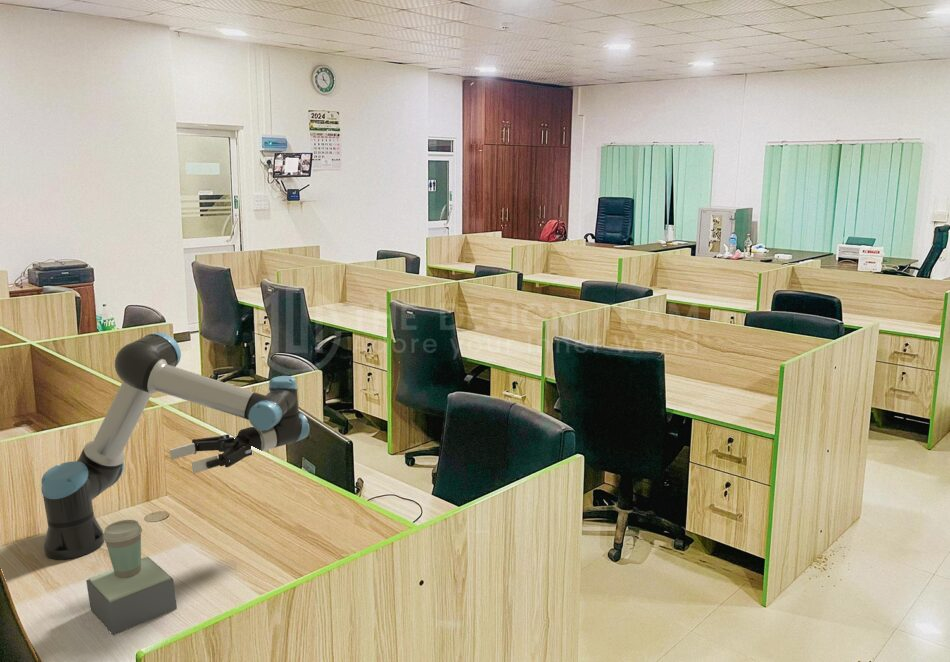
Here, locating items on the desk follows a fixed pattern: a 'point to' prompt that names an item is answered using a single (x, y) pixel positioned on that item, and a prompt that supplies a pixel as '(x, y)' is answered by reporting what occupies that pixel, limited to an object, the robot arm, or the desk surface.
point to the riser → (131, 596)
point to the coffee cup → (124, 547)
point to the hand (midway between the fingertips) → (181, 461)
